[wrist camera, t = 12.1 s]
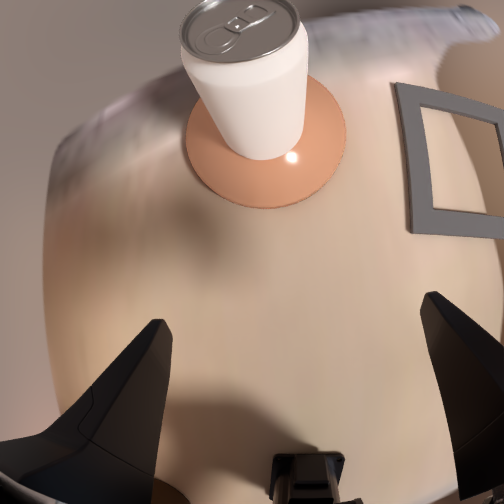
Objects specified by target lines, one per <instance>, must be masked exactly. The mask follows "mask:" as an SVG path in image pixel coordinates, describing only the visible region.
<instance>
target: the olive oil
mask: <svg viewBox="0 0 504 504" xmlns="http://www.w3.org/2000/svg"><path fill="white" fill-rule="evenodd" d="M151 504H190V503H189V501H188V500H187V499H186V498H185V497H184V496H183V495H182V494H181V493H180V492H178V491H177V490H176V489H174V488H173V487H171V486H169V485H168V484H166V483H164V482H162V481H159V480H157V479H154V483H153V491H152V500H151Z"/></svg>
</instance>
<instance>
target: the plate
mask: <svg viewBox="0 0 504 504" xmlns="http://www.w3.org/2000/svg"><path fill="white" fill-rule="evenodd" d="M345 142H346V126H345V120H344V117H343V114H342V111H341V109H340V107H339V105H338V103H337V101H336V100H335V98H334V97H333V95H332V94H331V93H330V92H329V91H328V90H327V88H325V87H324V86H323V85H322V84H321V83H320V82H318V81H317V80H315V79H314V78H312V77H311V76H309V75H307V88H306V102H305V115H304V125H303V131H302V134H301V137H300V139H299V141H298V142H297V144H296V145H295V146H294V147H293V148H292V149H291V150H290V151H288V152H287V153H285V154H284V155H282V156H280V157H277V158H274V159H269V160H253V159H249V158H246V157H243V156H241V155H239V154H238V153H236V152H235V151H233V150H232V149H231V148H230V147H229V146H228V145H227V143H226V142H225V140H224V138H223V137H222V135H221V133H220V131H219V129H218V128H217V126H216V124H215V122H214V120H213V119H212V117H211V115H210V113H209V111H208V110H207V108H206V106H205V104H204V102H203V101H202V99H201V97H200V98H199V100H198V101H197V103H196V104H195V106H194V108H193V110H192V112H191V114H190V117H189V120H188V124H187V129H186V147H187V152H188V156H189V159H190V161H191V164H192V166H193V168H194V170H195V171H196V173H197V174H198V176H199V177H200V178H201V179H202V180H203V182H204V183H205V184H206V185H207V186H209V187H210V188H211V189H212V190H213V191H214V192H215V193H217V194H218V195H220V196H221V197H223V198H224V199H226V200H228V201H230V202H232V203H235V204H238V205H241V206H245V207H250V208H258V209H274V208H280V207H286V206H289V205H292V204H296V203H298V202H300V201H302V200H304V199H306V198H308V197H310V196H311V195H313V194H314V193H316V192H317V191H318V190H319V189H321V188H322V187H323V186H324V185H325V184H326V183H327V182H328V180H329V179H330V178H331V176H332V175H333V174H334V172H335V170H336V168H337V166H338V164H339V162H340V160H341V158H342V155H343V152H344V149H345Z"/></svg>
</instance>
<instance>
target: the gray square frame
mask: <svg viewBox="0 0 504 504" xmlns="http://www.w3.org/2000/svg"><path fill="white" fill-rule="evenodd" d="M395 90H396V95H397V100H398V106H399V111H400V117H401V124H402V130H403V137H404V145H405V153H406V162H407V173H408V185H409V200H410V227H411V233H412V234H430V235H447V236H463V237H477V238H491V239H504V217H498V216H490V215H482V214H473V213H464V212H455V211H444V210H434V209H433V197H432V184H431V174H430V165H429V157H428V150H427V143H426V136H425V130H424V125H423V119H422V114H421V109H420V106H421V107H426V108H431V109H436V110H441V111H445V112H449V113H454V114H458V115H462V116H466V117H470V118H474V119H477V120H480V121H484V122H487V123H491V124H494V125H495V128H496V132H497V136H498V141H499V145H500V151H501V156H502V161H503V166H504V110H502V109H499V108H496V107H494V106H490V105H488V104H485V103H482V102H478V101H475V100H471V99H468V98H465V97H461V96H458V95H454V94H450V93H446V92H442V91H438V90H434V89H429V88H425V87H420V86H415V85H410V84H404V83H399V82H396V83H395Z"/></svg>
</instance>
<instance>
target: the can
mask: <svg viewBox="0 0 504 504" xmlns="http://www.w3.org/2000/svg"><path fill="white" fill-rule="evenodd" d="M179 39H180V42H181V44H182V46H181V59H182V62H183V65H184V67H185V70H186V71H187V73H188V75H189V77H190V79H191V81H192V83H193V84H194V86H195V88H196V90H197V92H198V93H199V95H200V97H201V99H202V101H203V102H204V104H205V106H206V108H207V110H208V111H209V113H210V115H211V117H212V119H213V120H214V122H215V124H216V126H217V128H218V129H219V131H220V133H221V135H222V137H223V138H224V140H225V142H226V143H227V145H228V146H229V147H230V148H231V149H232V150H233V151H235V152H236V153H238V154H239V155H241V156H243V157H246V158H249V159H253V160H269V159H274V158H277V157H280V156H282V155H284V154H285V153H287V152H288V151H290V150H291V149H292V148H293V147H294V146H295V145H296V144H297V142H298V141H299V139H300V137H301V134H302V131H303V125H304V115H305V102H306V88H307V70H308V37H307V33H306V30H305V28H304V26H303V24H302V23H301V22H300V16H299V13H298V10H297V9H296V7H295V6H294V5H293V4H292V3H291V2H290V1H289V0H204V1H202V2H201V3H199V4H198V5H196V6H195V7H194V8H193V9H191V10H190V12H189V13H188V14H187V15H186V16H185V18H184V19H183V21H182V23H181V25H180V29H179Z"/></svg>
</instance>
